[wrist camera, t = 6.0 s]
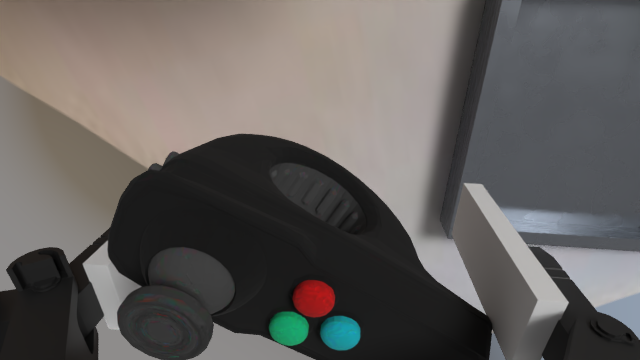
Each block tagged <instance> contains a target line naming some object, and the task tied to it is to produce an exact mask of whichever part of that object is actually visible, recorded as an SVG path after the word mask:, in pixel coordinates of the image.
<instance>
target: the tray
mask: <svg viewBox="0 0 640 360" xmlns="http://www.w3.org/2000/svg"><path fill="white" fill-rule="evenodd" d="M464 183H472V184H482V185H483V186H484V188H485V189H486V190H487V192H488V193H489V195H490V196H491V197H492V199H493V200H494V201H495V203H496V204H497V205H498V207H499V208H500V209H501V211H502V212H503V214H504V215H505V216H506V218H507V219H508V220H509V222H510V223H511V224H512V226H513V227H514V229H515V230H516V231H517V233H518V234H519V235H520V237H521V238H522V239H523V241H524V242H525V243H526V244H537V245H552V246H566V247H581V248H596V249H611V250H625V251H640V0H486V3H485V8H484V12H483V17H482V22H481V27H480V32H479V36H478V41H477V46H476V51H475V55H474V60H473V65H472V70H471V75H470V79H469V84H468V89H467V94H466V98H465V103H464V108H463V113H462V118H461V122H460V127H459V132H458V137H457V141H456V146H455V151H454V156H453V161H452V165H451V170H450V175H449V180H448V184H447V189H446V194H445V199H444V203H443V208H442V213H441V218H440V221H441V223H442V226H443V228H444V230H445V233H446V235H447V238H449V239H453V237H452V230H453V226H454V222H455V218H456V213H457V209H458V205H459V201H460V197H461V193H462V188H463V184H464Z"/></svg>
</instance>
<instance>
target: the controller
mask: <svg viewBox="0 0 640 360" xmlns="http://www.w3.org/2000/svg"><path fill="white" fill-rule="evenodd" d="M107 250H108V257H109V259H110V260H111V262H112V263H113V265H114V266H115V268H116V269H117V270H118V272H119V273H120V274H122V275H123V276H125V277H127V278H128V279H130V280H132V281H133V282H135V283H136V284H138V285H140V286H141V287H140V288H138V289H136V290H134V291H132V292H131V293H130V294H129V295H127V297H126V298H125V300H124V301H123V302H122V304H121V305H120V306H119V308H118V311H117V322H118V327H119V329H120V331H121V334H122V335H123V336H124V337H125V339H126V340H127V341H128V342H129V343H130V344H131V345H132V346H133V347H135V348H137V349H138V350H140V351H142V352H144V353H145V354H147V355H149V356H152V357H155V358H158V359H161V360H186V359H190V358H194V357H196V356H198V355H199V354H201V353H202V352H203V351H204V350H205V349H206V348H207V346H208V344H209V341H210V339H211V337H212V333H213V326H214V324H213V322H214V323H216V324H218V325H220V326H222V327H224V328H226V329H228V330H230V331H232V332H234V333H243V334H254V335H261V336H263V337H265V338H268V339H270V340H273V341H275V342H277V343H279V344H281V345H284V346H286V347H288V348H291V349H293V350H295V351H297V352H300V353H302V354H304V355H307V356H309V357H311V358H313V359H316V360H489V355H490V346H491V336H492V333H491V332H492V322H491V320H490V319H489V317H488V316H487V315H485V314H484V313H482V312H481V311H479V310H477V309H476V308H474V307H473V306H471V305H470V304H468V303H467V302H466V301H464V300H463V299H461V298H460V297H458V296H457V295H456V294H454V293H453V292H451V291H450V290H448V289H447V288H446V287H444V286H443V285H441V284H440V283H439V282H437V281H436V280H435V279H434V278H433V277H432V276H431V275H430V274H429V273H428V272H427V271H426V270H425V269H424V267H423V265H422V264H421V262H420V260H419V258H418V256H417V253H416V251H415V248H414V246H413V243H412V241H411V239H410V237H409V235H408V234H407V232H406V230H405V229H404V227H403V226H402V224H401V223H400V221H399V220H398V219H397V217H396V216H395V215H394V214H393V212H392V211H391V210H390V209H389V207H388V206H387V205H386V204H385V203H384V202H383V201H382V200H381V199H380V198H379V197H378V196H377V195H376V194H375V193H374V192H373V191H372V190H371V189H370V188H369V187H367V186H366V185H365V184H364V183H363V182H362V181H361V180H360V179H358V178H357V177H356V176H354V175H353V174H352V173H350V172H349V171H348V170H346V169H345V168H344V167H342V166H341V165H339V164H338V163H336V162H334V161H333V160H331V159H329V158H328V157H326V156H324V155H323V154H320V153H318V152H316V151H314V150H312V149H310V148H308V147H306V146H303V145H300V144H298V143H295V142H292V141H289V140H285V139H281V138H277V137H272V136H265V135H255V134H236V135H230V136H225V137H221V138H217V139H214V140H212V141H210V142H207V143H205V144H202V145H200V146H198V147H195V148H193V149H191V150H188V151H186V152H183V153H181V154H178V153H177V152H171V153H170V154H169V155H168V157H167V158H166V160H165V162H164V164H163V166H161V165H159V164H157V163H155V164H152V165H151V166H150V167H149V169H148V171H146V172H144V173H142V174H141V175H139V176H137V177H135V178H134V179H133V180H132V181H131V182H130V183H129V185H128V186H127V188H126V189H125V191H124V192H123V194H122V196H121V198H120V200H119V203H118V206H117V209H116V212H115V215H114V218H113V221H112V224H111V227H110V230H109V233H108V248H107Z"/></svg>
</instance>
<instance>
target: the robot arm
mask: <svg viewBox="0 0 640 360" xmlns="http://www.w3.org/2000/svg"><path fill="white" fill-rule="evenodd" d="M109 230H110V228H109V229H108V230H107V231H106V232H105V233H103V235H101V238H98V239H97V240H96V241H94V242H93V245H90V246H89V247H88V248H87V249H85V250H84V251H83V252H82V253H81V254H80V255H79V256H77V257H76V258H75V259H74V260H73V261H72V262H71V263H70V264H69V263H68V261H67V259H66V256H65V254H64V252H63V250H61V249H59V248H53V247H49V248H43V249H38V250H35V251H32V252H29V253H27V254H25V255H23V256H21V257H19V258H17V259H16V260H15V261H14V262H12V263H11V264H10V265H9V267H8V268H7V269H6V271H7V273H8V274H9V276H10V278H11V280H12V282H13V284H14V285H15V287H16V289H15V290H8V291H2V292H0V360H98V332H97V329H96V327H95V326H96V325H97V324H98V322H99V321H100V320H101V319H102V318H103V316H104V318H105V321H106V324H107V326H108V328H109V329H115V330H120V329H119V327H118V322H117V311H118V308H119V306H120V305H121V304H122V302H123V301H124V300H125V298H126V297H127V295H129V294H130V293H131V292H132V291H134V290H136V289H138V288H140V287H141V286H140V285H138V284H136V283H135V282H133V281H132V280H130V279H128V278H127V277H125V276H123V275H122V274H120V273H119V272H118V270H117V269H116V268H115V266H114V265H113V263H112V262H111V260H110V259H109V257H108V250H107V248H108V233H109ZM452 237H453V239H454V241H455V244H456V246H457V248H458V251H459V253H460V255H461V257H462V260H463V262H464V264H465V267H466V269H467V271H468V274H469V276H470V278H471V280H472V283H473V285H474V287H475V290H476V292H477V294H478V297H479V299H480V301H481V304H482V306H483V308H484V310H485V313H486V315H487V316H488V317H489V319H490V320H491V322H492V329H493V331H494V334H495V336H496V338H497V340H498V343H499V345H500V347H501V350H502V352H503V354H504V356H505V359H506V360H541V358H542V356H543V358H544V360H640V340H639V339H638V337H637V336H636V335H635V334H634V333H633V331H632V330H631V329H630V328H628V327H627V326H626V325H624V324H623V323H622V322H620V321H618V320H617V319H615V318H613V317H611V316H609V315H606V314H603V313H600V312H597V311H596V310H595V308H594V307H593V306H592V304H591V303H590V302H589V301H588V299H587V298H586V297H585V296H584V295H583V293H582V292H581V291H580V290H579V288H578V287H577V286H576V285H575V283H574V282H573V281H572V280H570V277H569V276H568V275H567V273H566V272H565V271H564V270H562V267H561V266H560V265H559V264H558V262H557V261H556V260H555V259H554V257H552V256H551V255H550V254H548V253H547V252H545V251H544V250H543V249H541V248H540V247H529V246H527V245H526V243H525V242H524V241H523V239H522V238H521V237H520V235H519V234H518V233H517V231H516V230H515V229H514V227H513V226H512V224H511V223H510V222H509V220H508V219H507V218H506V216H505V215H504V214H503V212H502V211H501V209H500V208H499V207H498V205H497V204H496V203H495V201H494V200H493V199H492V197H491V196H490V195H489V193H488V192H487V190H486V189H485V188H484V186H483V185H482V184H472V183H464V184H463V188H462V193H461V197H460V201H459V205H458V209H457V213H456V218H455V222H454V226H453V230H452Z"/></svg>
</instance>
